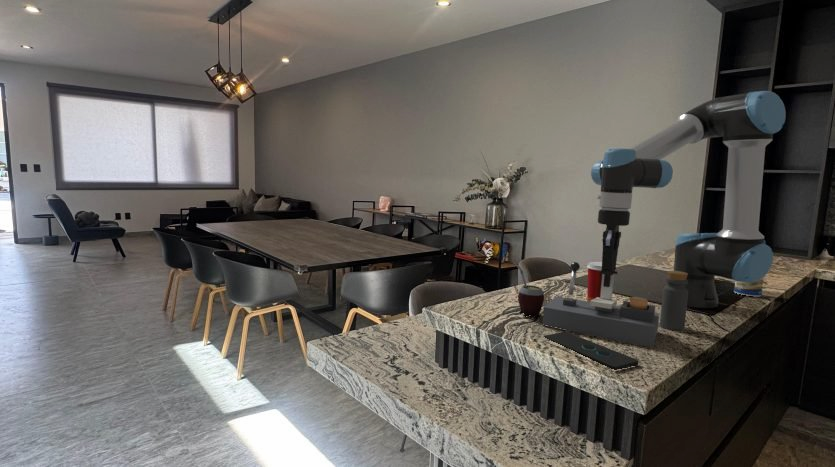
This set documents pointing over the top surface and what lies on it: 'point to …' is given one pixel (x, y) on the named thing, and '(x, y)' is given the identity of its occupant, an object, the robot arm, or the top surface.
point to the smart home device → (593, 350)
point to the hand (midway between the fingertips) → (606, 298)
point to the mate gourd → (530, 298)
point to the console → (604, 320)
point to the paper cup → (594, 280)
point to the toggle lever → (573, 276)
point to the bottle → (674, 301)
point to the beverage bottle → (749, 287)
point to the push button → (638, 303)
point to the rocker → (603, 303)
